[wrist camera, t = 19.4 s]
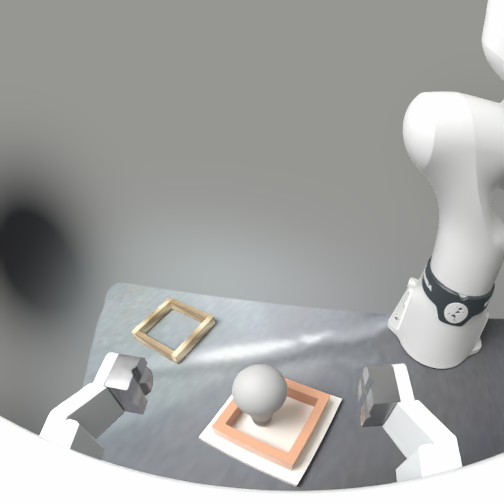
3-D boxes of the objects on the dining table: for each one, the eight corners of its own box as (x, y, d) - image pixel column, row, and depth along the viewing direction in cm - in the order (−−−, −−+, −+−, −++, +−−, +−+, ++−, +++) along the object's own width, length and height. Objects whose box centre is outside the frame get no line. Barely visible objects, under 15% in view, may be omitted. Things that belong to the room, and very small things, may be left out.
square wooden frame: (171, 304, 58) (169, 297, 58) (215, 323, 54) (213, 316, 53) (134, 338, 51) (131, 331, 50) (177, 364, 46) (175, 357, 46)
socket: (253, 368, 45) (252, 355, 43) (340, 402, 39) (344, 389, 37) (200, 439, 35) (194, 429, 34) (296, 486, 29) (298, 480, 27)
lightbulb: (255, 448, 33) (249, 411, 27) (229, 414, 38) (218, 369, 32) (294, 424, 36) (300, 380, 30) (268, 393, 40) (266, 345, 34)
